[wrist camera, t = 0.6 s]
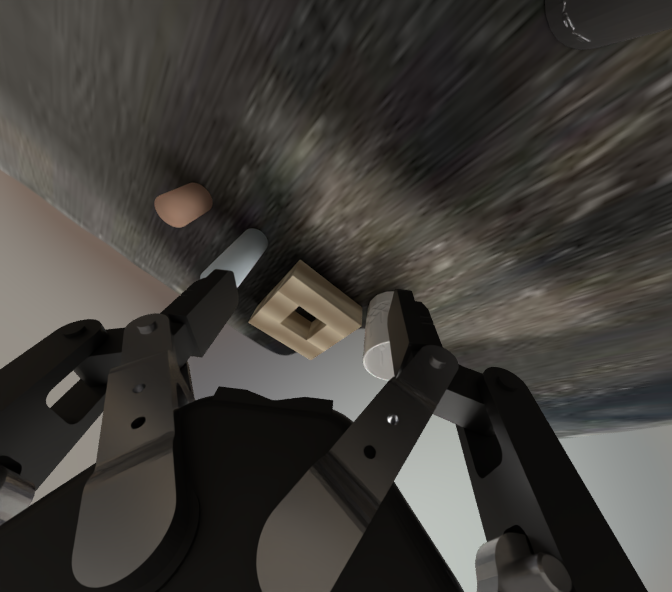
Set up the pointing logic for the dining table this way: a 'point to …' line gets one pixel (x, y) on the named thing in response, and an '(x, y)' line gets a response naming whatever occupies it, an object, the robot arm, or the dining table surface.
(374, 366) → the white cup
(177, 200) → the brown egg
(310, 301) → the hole block
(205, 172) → the dining table surface
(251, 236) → the long dowel
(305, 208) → the dining table surface
